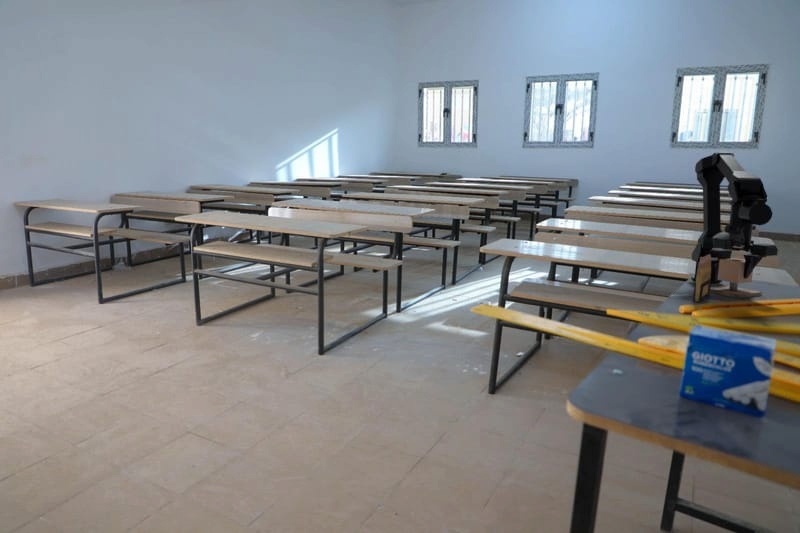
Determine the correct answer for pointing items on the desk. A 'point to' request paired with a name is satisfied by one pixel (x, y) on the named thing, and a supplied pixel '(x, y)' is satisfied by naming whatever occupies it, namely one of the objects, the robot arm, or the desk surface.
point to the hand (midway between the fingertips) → (734, 276)
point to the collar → (733, 271)
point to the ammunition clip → (703, 280)
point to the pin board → (734, 291)
